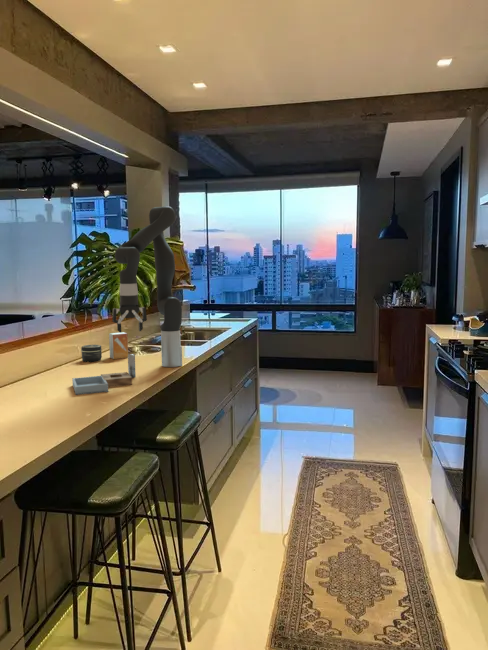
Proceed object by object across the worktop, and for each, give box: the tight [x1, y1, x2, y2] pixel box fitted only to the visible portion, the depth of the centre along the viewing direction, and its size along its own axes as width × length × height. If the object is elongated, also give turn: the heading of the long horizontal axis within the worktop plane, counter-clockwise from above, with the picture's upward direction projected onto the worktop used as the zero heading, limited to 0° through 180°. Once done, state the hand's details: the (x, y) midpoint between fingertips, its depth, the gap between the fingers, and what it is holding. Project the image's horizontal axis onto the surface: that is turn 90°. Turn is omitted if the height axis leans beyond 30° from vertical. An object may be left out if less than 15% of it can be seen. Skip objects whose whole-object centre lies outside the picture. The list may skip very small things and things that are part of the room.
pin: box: [127, 353, 137, 379], centre depth 218 cm, size 3×3×10 cm
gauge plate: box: [100, 371, 133, 388], centre depth 208 cm, size 11×11×3 cm
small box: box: [108, 331, 129, 360], centre depth 264 cm, size 8×6×13 cm
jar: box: [80, 344, 103, 363], centre depth 257 cm, size 10×10×8 cm
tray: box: [72, 375, 109, 396], centre depth 199 cm, size 12×16×3 cm
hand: (130, 331), depth 216 cm, fingers open, 8 cm apart
